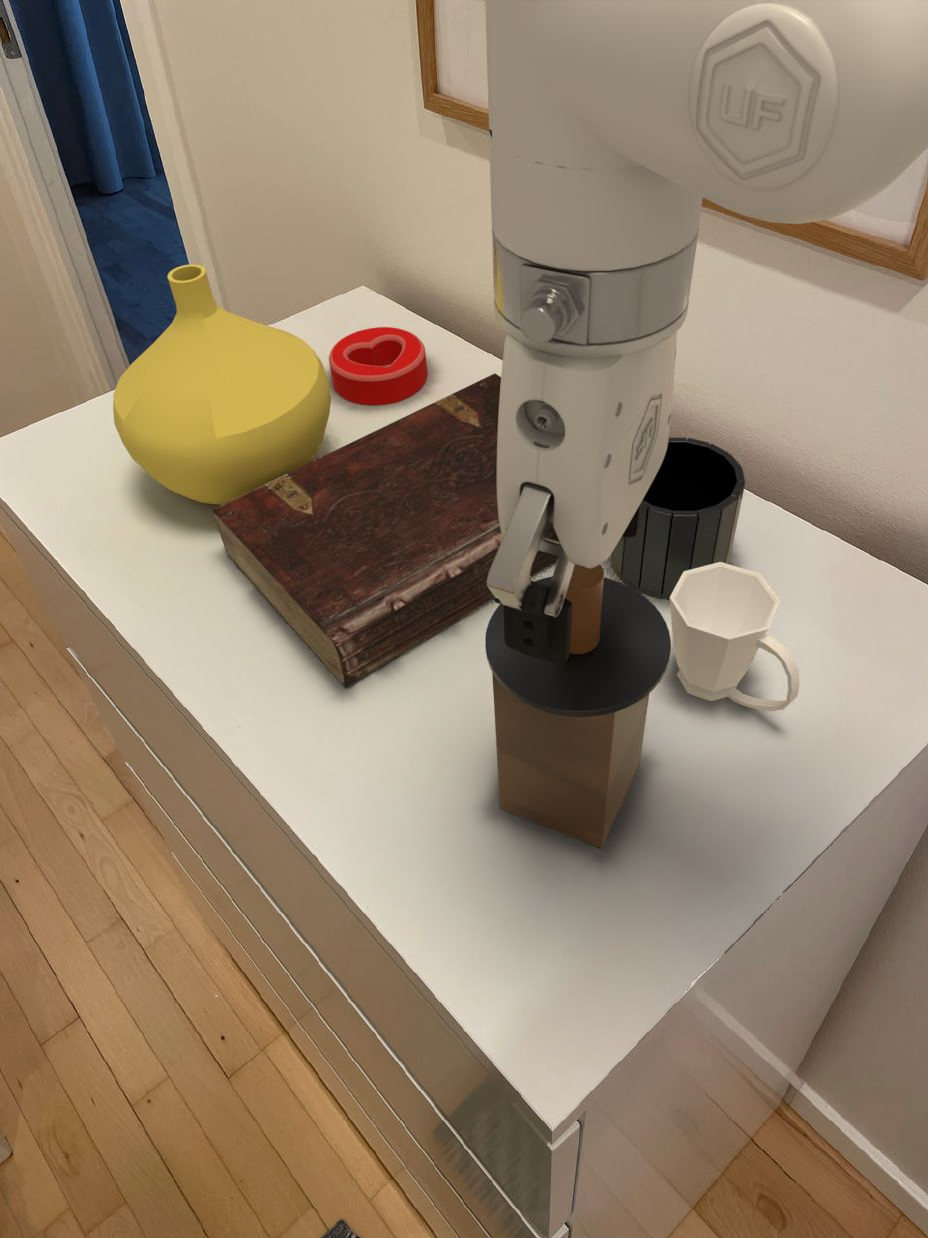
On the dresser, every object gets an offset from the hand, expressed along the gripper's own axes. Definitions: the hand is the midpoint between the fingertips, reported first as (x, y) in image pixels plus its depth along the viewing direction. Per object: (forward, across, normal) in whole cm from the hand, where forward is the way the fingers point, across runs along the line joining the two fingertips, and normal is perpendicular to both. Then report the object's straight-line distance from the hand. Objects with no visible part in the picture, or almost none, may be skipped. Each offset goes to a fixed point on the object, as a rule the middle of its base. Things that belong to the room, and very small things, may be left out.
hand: (575, 586), depth 48 cm
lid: (+4, 0, 0) cm, 4 cm away
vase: (+19, +19, +40) cm, 48 cm away
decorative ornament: (+19, +37, +36) cm, 55 cm away
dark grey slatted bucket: (+18, +23, 0) cm, 29 cm away
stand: (+18, 0, 0) cm, 18 cm away
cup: (+18, +12, -7) cm, 23 cm away
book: (+19, +18, +19) cm, 32 cm away
